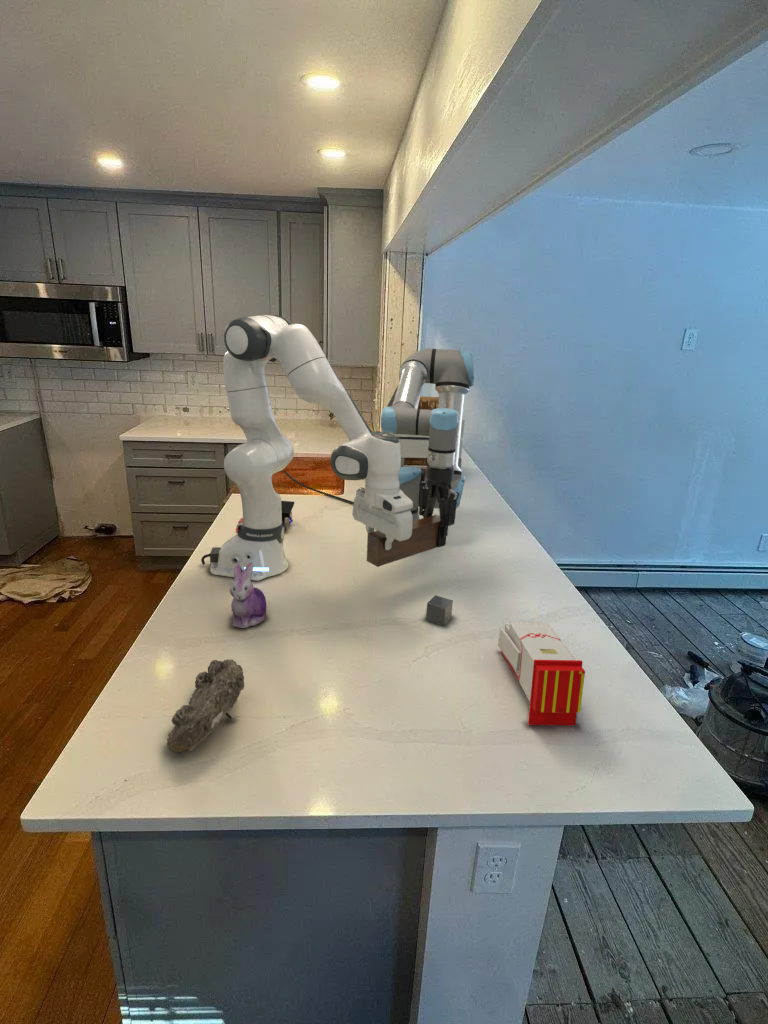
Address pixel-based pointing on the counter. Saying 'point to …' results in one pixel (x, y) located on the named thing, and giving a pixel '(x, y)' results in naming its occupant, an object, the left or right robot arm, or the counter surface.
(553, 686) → the toy
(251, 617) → the figurine
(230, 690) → the fossil
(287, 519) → the figurine character
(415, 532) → the walnut plank
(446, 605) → the slate block
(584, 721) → the counter surface
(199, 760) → the counter surface
